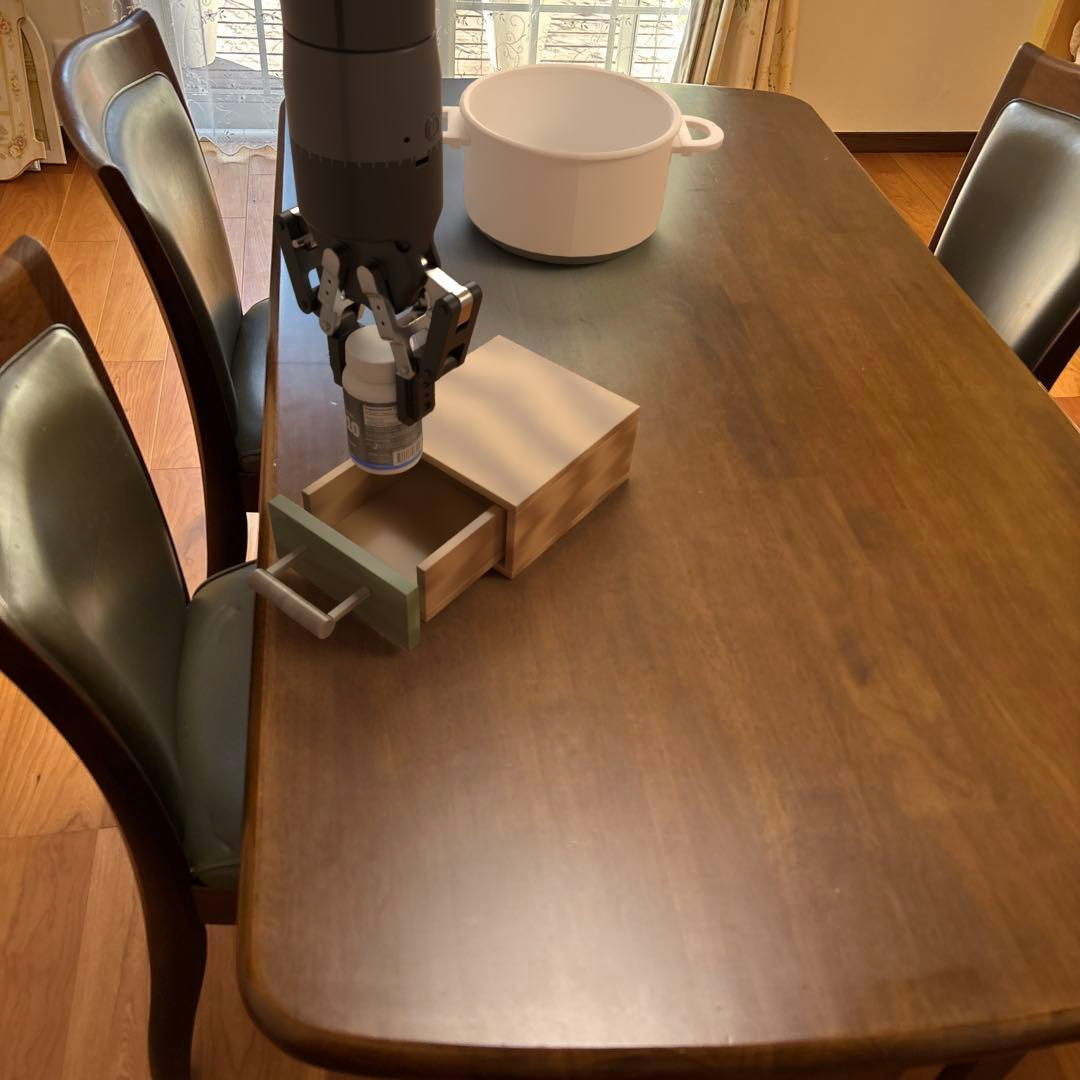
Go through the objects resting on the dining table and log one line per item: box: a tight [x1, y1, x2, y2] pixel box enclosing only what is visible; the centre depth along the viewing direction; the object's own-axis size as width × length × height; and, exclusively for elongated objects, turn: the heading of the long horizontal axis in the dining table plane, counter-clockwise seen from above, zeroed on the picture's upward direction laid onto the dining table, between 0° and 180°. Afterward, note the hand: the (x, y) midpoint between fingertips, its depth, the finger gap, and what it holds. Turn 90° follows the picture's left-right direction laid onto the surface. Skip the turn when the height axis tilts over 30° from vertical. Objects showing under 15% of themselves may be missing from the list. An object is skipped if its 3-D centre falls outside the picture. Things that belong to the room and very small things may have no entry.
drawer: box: [246, 457, 508, 652], centre depth 74 cm, size 19×13×6 cm
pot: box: [442, 63, 725, 265], centre depth 111 cm, size 33×23×14 cm
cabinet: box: [421, 334, 641, 581], centre depth 82 cm, size 16×15×8 cm
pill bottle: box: [341, 324, 423, 475], centre depth 62 cm, size 5×5×8 cm
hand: (382, 398), depth 62 cm, fingers closed on pill bottle, 4 cm apart
